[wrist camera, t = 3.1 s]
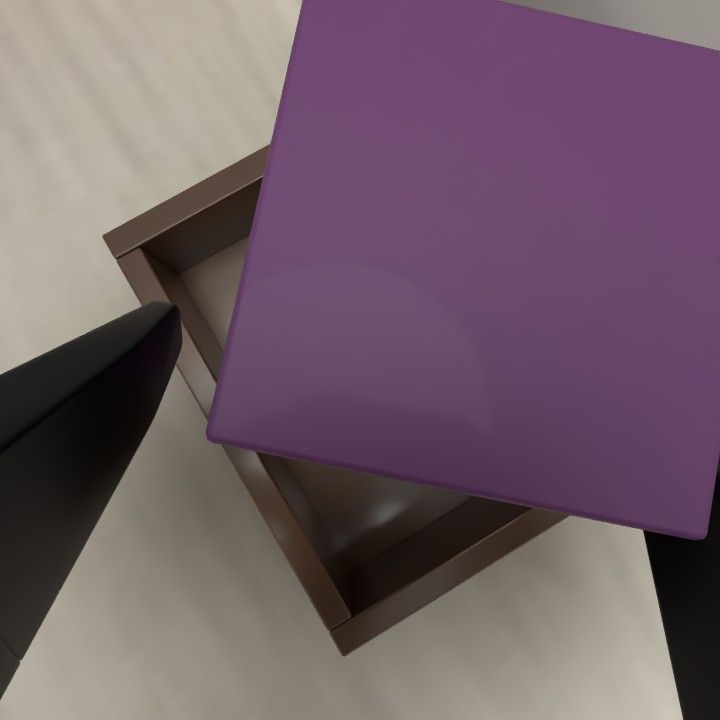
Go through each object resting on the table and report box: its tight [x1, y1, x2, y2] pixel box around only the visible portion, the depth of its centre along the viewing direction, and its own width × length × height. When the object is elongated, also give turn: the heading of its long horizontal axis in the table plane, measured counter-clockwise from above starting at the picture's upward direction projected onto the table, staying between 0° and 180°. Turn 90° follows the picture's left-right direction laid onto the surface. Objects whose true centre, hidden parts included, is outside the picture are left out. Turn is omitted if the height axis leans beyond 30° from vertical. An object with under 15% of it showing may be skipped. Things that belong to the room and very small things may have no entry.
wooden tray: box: [103, 144, 570, 656], centre depth 16 cm, size 14×12×4 cm
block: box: [206, 0, 720, 540], centre depth 12 cm, size 5×5×13 cm
